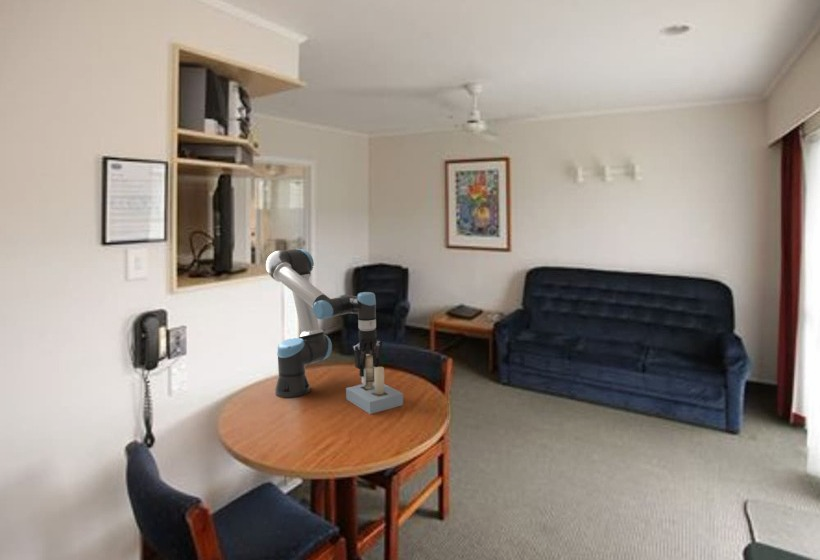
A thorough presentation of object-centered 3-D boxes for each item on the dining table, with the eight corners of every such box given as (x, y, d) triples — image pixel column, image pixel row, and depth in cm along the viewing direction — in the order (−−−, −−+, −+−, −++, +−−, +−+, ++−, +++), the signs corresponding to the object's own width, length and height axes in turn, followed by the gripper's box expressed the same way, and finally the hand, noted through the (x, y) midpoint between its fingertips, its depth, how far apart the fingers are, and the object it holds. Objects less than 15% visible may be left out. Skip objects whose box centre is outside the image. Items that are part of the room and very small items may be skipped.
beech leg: (362, 391, 208) (361, 355, 206) (370, 389, 210) (369, 353, 208) (367, 393, 204) (366, 357, 202) (375, 391, 207) (374, 355, 205)
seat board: (346, 399, 208) (345, 363, 206) (377, 391, 217) (377, 356, 215) (370, 414, 192) (369, 375, 190) (403, 405, 201) (402, 367, 199)
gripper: (353, 333, 196) (355, 388, 199) (389, 327, 206) (390, 380, 209) (345, 330, 202) (346, 384, 205) (379, 324, 212) (381, 376, 215)
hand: (368, 382), depth 207 cm, fingers closed on beech leg, 4 cm apart
